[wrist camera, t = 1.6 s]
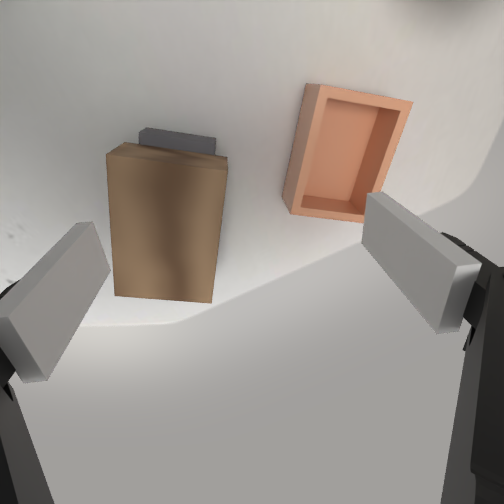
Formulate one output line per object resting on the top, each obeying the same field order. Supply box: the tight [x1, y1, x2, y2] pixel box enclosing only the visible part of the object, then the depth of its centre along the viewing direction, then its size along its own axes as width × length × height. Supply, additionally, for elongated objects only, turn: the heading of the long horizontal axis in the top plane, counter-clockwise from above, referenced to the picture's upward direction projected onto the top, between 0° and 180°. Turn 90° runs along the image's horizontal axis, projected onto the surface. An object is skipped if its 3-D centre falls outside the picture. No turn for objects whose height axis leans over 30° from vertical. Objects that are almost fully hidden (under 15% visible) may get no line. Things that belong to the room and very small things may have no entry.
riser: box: [139, 128, 216, 155], centre depth 32 cm, size 7×15×3 cm, turn 171°
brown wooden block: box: [106, 142, 228, 303], centre depth 29 cm, size 9×13×5 cm
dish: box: [282, 84, 413, 223], centre depth 30 cm, size 8×11×5 cm
